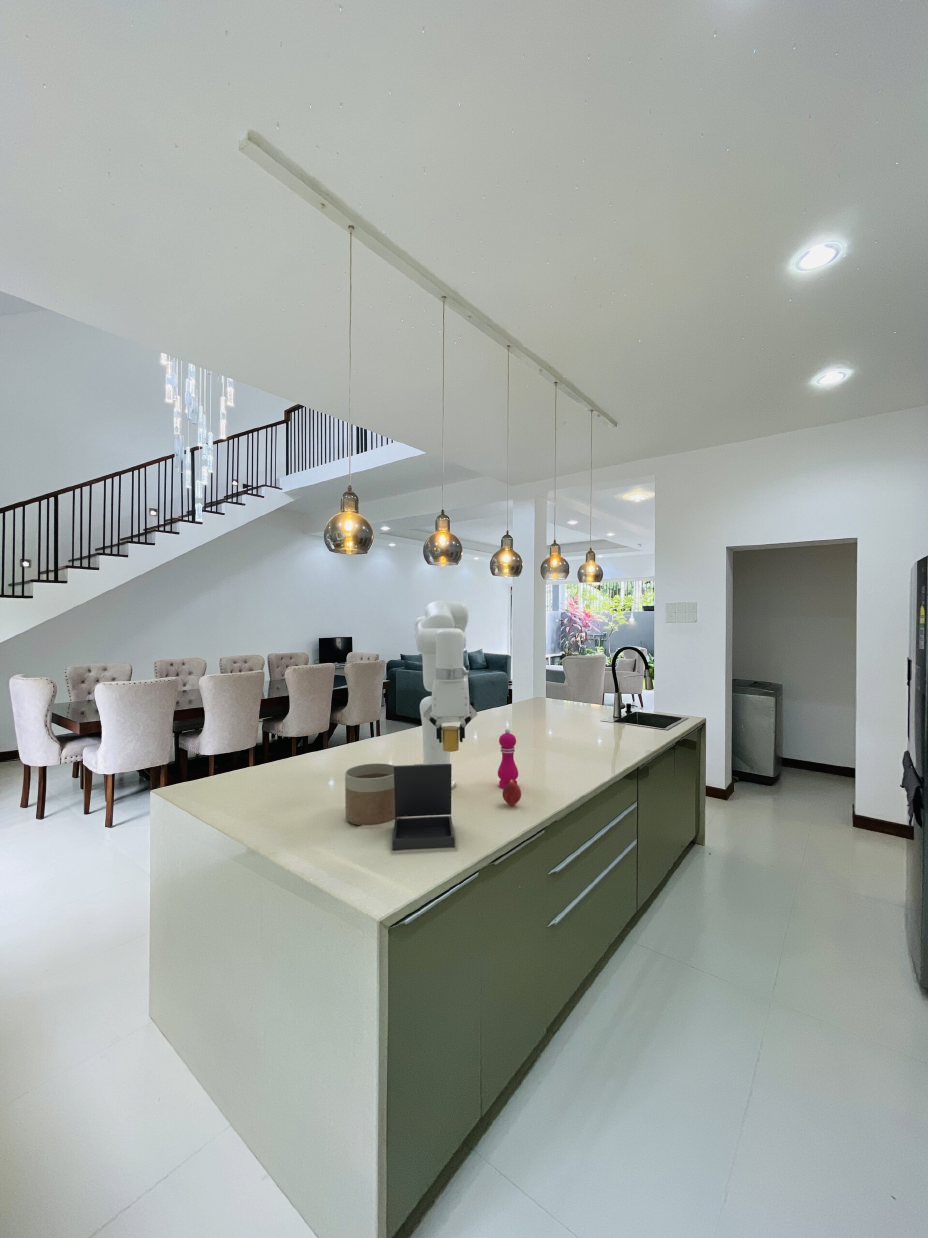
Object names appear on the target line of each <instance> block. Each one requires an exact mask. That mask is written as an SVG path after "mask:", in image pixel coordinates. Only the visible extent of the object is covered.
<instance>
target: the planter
mask: <svg viewBox="0 0 928 1238" xmlns="http://www.w3.org/2000/svg"><path fill="white" fill-rule="evenodd" d="M394 766H395V765H394V764H390V763H375V762H374V763H364V764H359V765H355V766H352V767H349V768H348V769H347V770H346V771H345V772H344V793H345V794H344V798H345V800H344V802H345V803H344V804H345V819H346V821H348V822H349V823H351V824H353V825H358V826H375V825H376V826H377V825H382V824H386V823H389V822H392V821H395V818H398V817H395V796H394Z"/></svg>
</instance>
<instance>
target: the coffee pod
mask: <svg viewBox="0 0 928 1238" xmlns="http://www.w3.org/2000/svg"><path fill="white" fill-rule="evenodd" d="M459 729H460V727H459V726H457V725H443V727H442V737H443V751H447V752H450V753H451V752H452V753H453V752H458V751H459V750H460V740H459Z"/></svg>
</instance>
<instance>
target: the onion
mask: <svg viewBox="0 0 928 1238" xmlns="http://www.w3.org/2000/svg"><path fill="white" fill-rule="evenodd" d="M502 789H503V788H502ZM501 793H502V799H503V800H504V803H506V804H508V805H509V806H510V807H514V806H515V805H517V803H519V801H521V798H522V791H521V789H520V786H518V784H517V785H516V784H515V783H514V781H513V780H510V782H509V784H507V785H506V786H505V787H504V789H503V790H502V792H501Z"/></svg>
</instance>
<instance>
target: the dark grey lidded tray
mask: <svg viewBox="0 0 928 1238" xmlns="http://www.w3.org/2000/svg"><path fill="white" fill-rule="evenodd" d="M393 824H394V825H393V831H392V840H391V841H392V842H391V843H392V845H391V848H392V851H407V850H410V851H411V850H428V849H449V848H456V836H455V830H454V824H453V818H452V815H434V816H412V817H397V818H395V819H394V823H393Z"/></svg>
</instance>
